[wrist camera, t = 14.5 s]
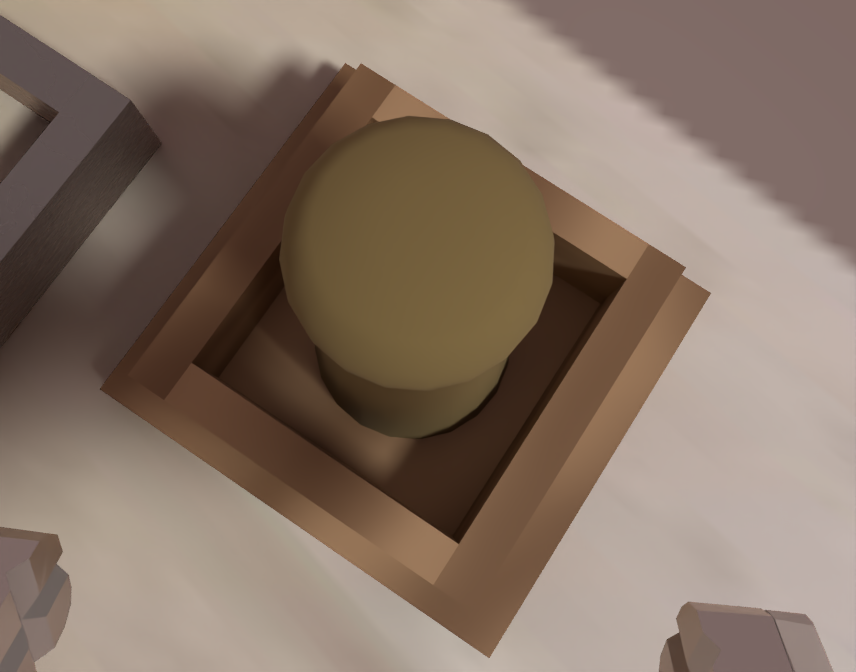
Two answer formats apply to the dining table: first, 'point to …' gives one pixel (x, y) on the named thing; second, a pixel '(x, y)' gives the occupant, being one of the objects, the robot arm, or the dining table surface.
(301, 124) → the walnut rack
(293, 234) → the cork
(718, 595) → the dining table surface
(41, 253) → the socket block
